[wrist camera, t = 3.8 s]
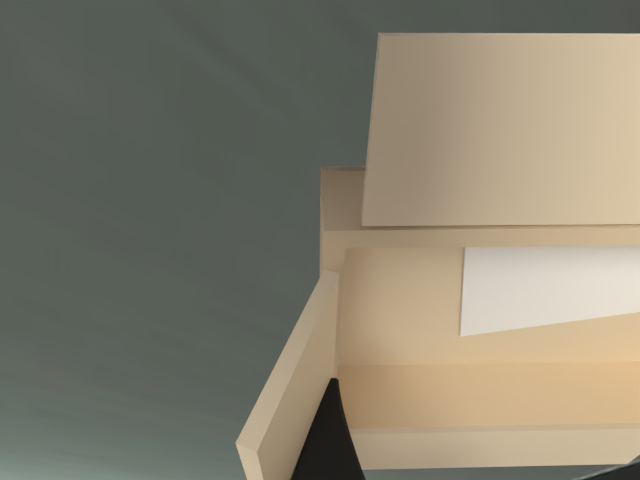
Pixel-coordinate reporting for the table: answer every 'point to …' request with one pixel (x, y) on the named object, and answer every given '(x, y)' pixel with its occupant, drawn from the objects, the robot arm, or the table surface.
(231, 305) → the table surface
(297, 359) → the flap
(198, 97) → the table surface
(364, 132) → the table surface
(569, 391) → the carton
